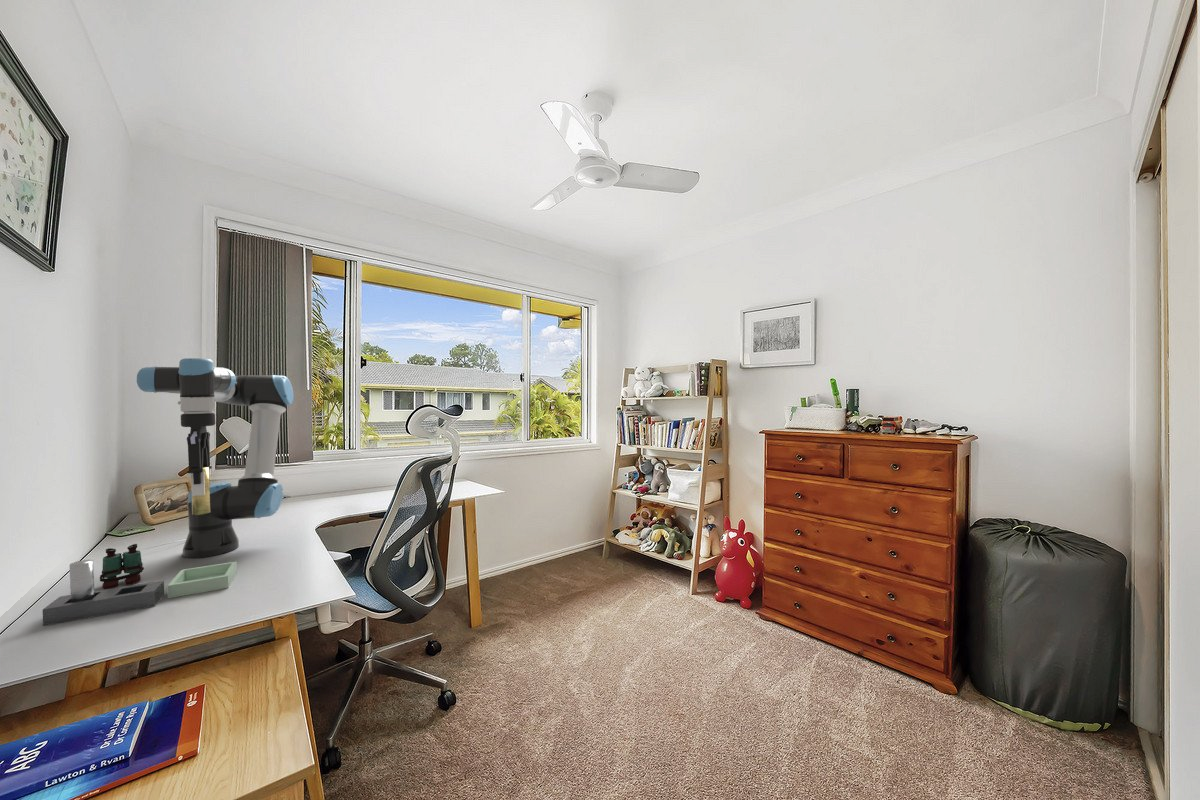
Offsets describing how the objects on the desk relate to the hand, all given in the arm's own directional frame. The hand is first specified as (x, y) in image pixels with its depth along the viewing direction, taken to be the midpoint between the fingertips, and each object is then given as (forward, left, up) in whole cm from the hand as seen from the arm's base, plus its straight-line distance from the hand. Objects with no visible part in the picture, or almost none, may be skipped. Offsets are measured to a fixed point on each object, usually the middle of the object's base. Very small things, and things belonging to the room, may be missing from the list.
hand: (200, 493), depth 135 cm
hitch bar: (+7, -18, -27) cm, 33 cm away
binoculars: (-13, -21, -27) cm, 36 cm away
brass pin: (0, 0, -6) cm, 6 cm away
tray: (0, 0, -27) cm, 27 cm away
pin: (+7, -22, -27) cm, 35 cm away
